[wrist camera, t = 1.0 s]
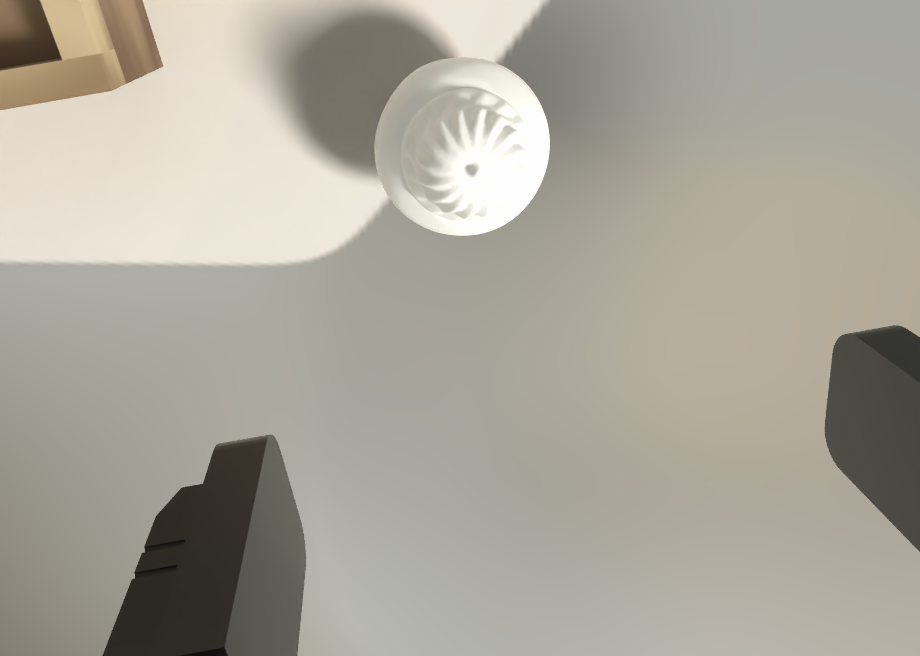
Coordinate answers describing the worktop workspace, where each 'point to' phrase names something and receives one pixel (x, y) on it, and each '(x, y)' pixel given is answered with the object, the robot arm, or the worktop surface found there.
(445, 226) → the white ribbed cup
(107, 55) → the wooden tray
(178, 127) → the worktop surface
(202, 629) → the robot arm
